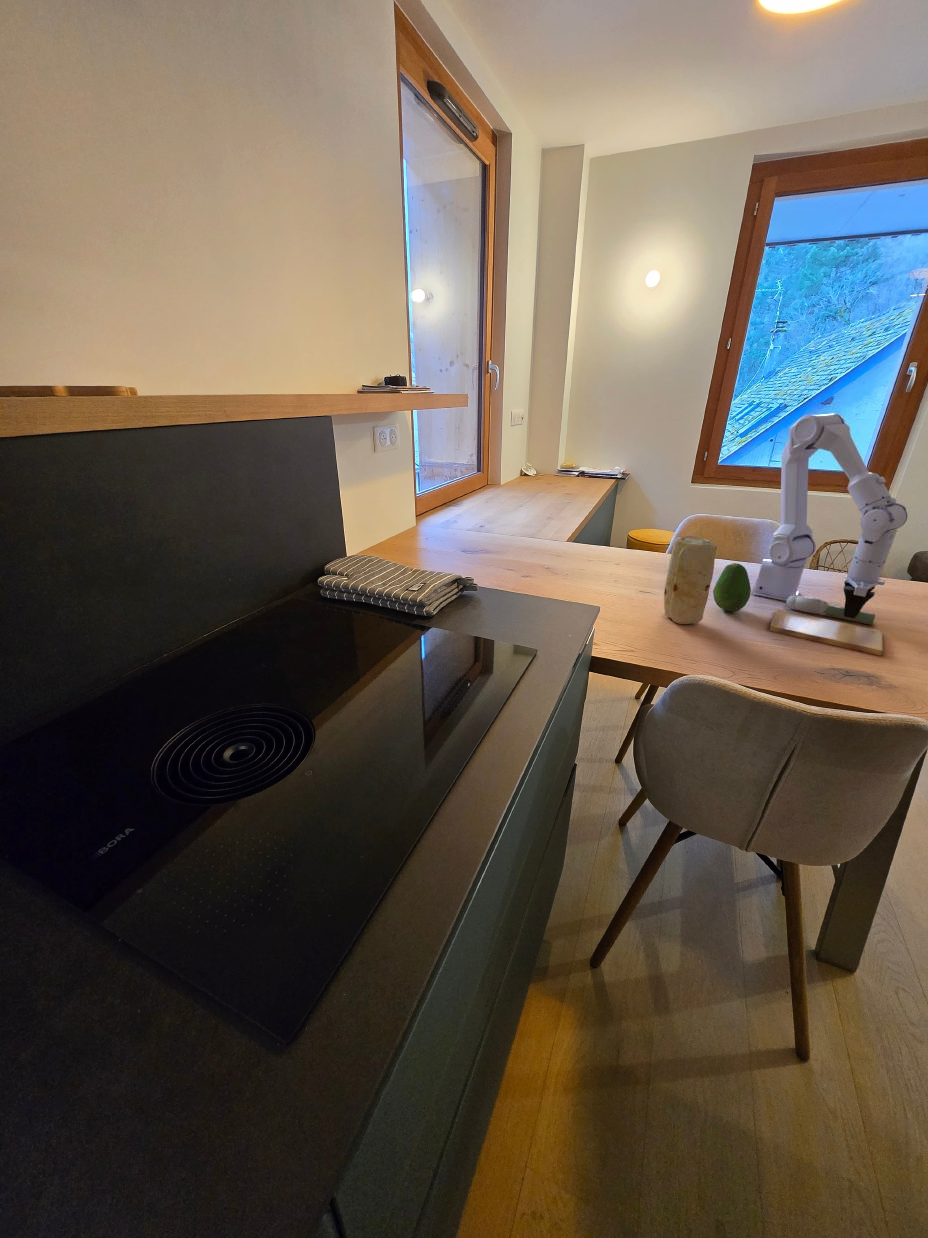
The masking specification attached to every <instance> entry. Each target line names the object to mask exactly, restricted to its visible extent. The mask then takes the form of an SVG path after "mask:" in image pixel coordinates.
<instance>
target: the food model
mask: <svg viewBox="0 0 928 1238" xmlns="http://www.w3.org/2000/svg"><path fill="white" fill-rule="evenodd" d="M717 549H718V545H717V544H716V543H715V542H713V541H711V540H708V539H705V538H703V537H701V536H700V537H699V536H696V535H684V536H679V537H678V536H677V538H675V540H674V543H673V547H672V551H671V553H670V557H669V563H668V568H667V573H666V578H665V584H664V592H663V609H664V614H665V616H666V617H668V618H670V619H671V620H672V621H673V622H674V623H676V624H679V625H689V624H690V625H691V624H698V623H701V622H702V621H703V618H704V613H705V609H706V606H707V602H708V600H709V599H708V598H709V594H710V589H711V584H712V580H713V575H714V570H715V561H716V560H715V559H716V554H717Z"/></svg>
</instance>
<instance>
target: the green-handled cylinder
mask: <svg viewBox="0 0 928 1238" xmlns="http://www.w3.org/2000/svg"><path fill="white" fill-rule="evenodd" d="M785 602H786V606H787V607H788V609H791V610H793V611H799V612H804V613H808V614H814V615H824V616H825V617H829V618H834V619H840V620H845V621H849V622H855V623H860V624H863V625H864V624H865V625H870V626H873V624H874V621H875V619H876V614H875V613H870V612H866V611H862V610H860V612H859V613H858V615H857V616H856V617H855V618H850V617H845V616H844V608H845V607H841V606H834V605H830V604H829V603H828V602H827V601H826V600H824V599H820V598H816V597H809V596H804V595H799V594H798V595H792V596H790V597H789V598H788V599H787V601H785Z"/></svg>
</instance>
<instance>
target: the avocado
mask: <svg viewBox="0 0 928 1238" xmlns="http://www.w3.org/2000/svg"><path fill="white" fill-rule="evenodd" d="M751 592H752V588H751V582H750V577H749V574H748V570H747V569H746V567H745V566H743V564H741V563H738V562H737V563H736V562H733V563H730V564H727V565H726V566H725V567H724V569H723V570H722V572H721V574H720V575H719V577H718V580H717V581H716V583H715V585H714V587H713V590H712V594H713V600H714V602H715V603H716V605H717V606H718V608H720V609H721V610H724V611H727V612H738V611H740V610H742V609H743V608H744V607H746V605H747V603H748V601H749V600H750V598H751Z"/></svg>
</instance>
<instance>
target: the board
mask: <svg viewBox="0 0 928 1238" xmlns="http://www.w3.org/2000/svg"><path fill="white" fill-rule="evenodd" d="M769 627H770V628H769V631H770V632H773V633H774V632H775V633H778V634H782V635H787V636H792V637H795V638H796V637H797V638H801V639H805V640H808V641H809V640H810V641H813V642H818V643H823V644H827V645H832V646H836V647H839V648H845V649H849V650H854V651H858V652H863V653H867V654H871V655H876V656H881V655H882V653H883V630H881V629H875V628H870V627H866V626H862V625H856V624H852V623H846V622H841V621H836V620H832V619H826V618H822V617H817V616H812V615H808V614H804V613H798V612H794V611H793V612H792V611H788V610H783V609H778V608H777V609H776V612H775V614H774V616H773V619H772V622H771V624H770V626H769Z"/></svg>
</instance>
